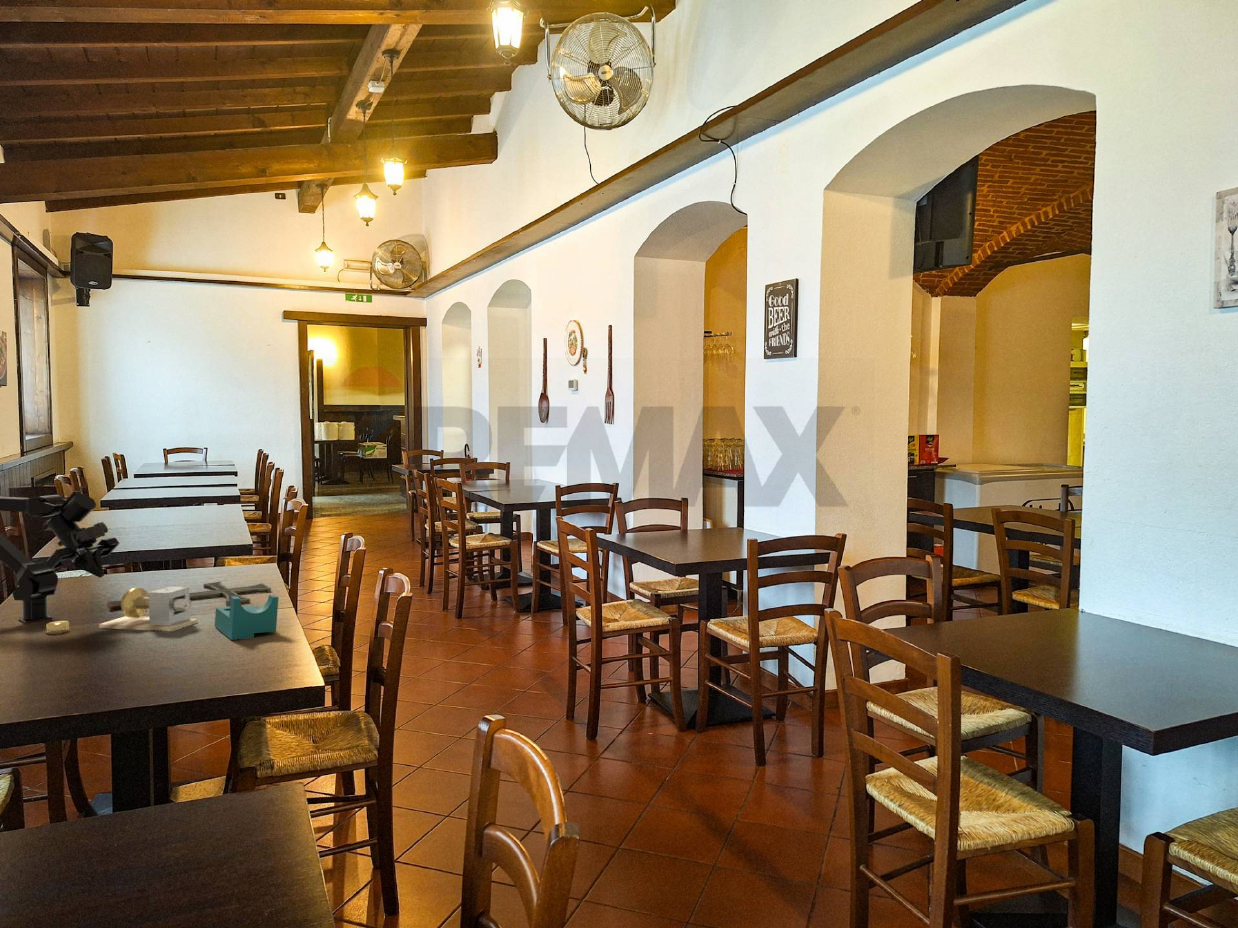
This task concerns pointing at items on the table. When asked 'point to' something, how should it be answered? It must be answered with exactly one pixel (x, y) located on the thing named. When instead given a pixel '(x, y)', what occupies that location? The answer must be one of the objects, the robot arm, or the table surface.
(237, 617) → the teal saddle bracket
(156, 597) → the bearing block
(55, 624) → the spacer
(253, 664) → the table surface
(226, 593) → the cross
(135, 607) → the shaft
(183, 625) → the board
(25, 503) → the robot arm
